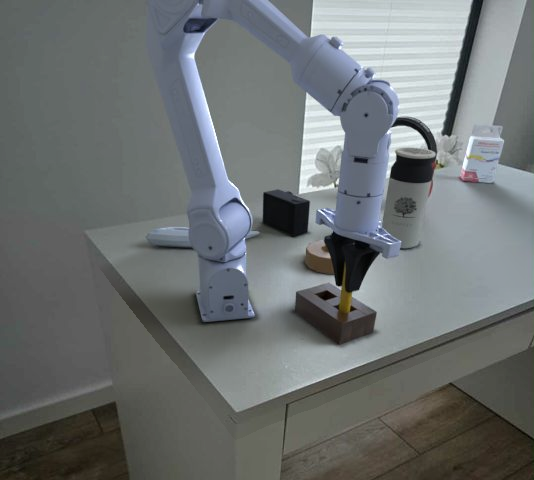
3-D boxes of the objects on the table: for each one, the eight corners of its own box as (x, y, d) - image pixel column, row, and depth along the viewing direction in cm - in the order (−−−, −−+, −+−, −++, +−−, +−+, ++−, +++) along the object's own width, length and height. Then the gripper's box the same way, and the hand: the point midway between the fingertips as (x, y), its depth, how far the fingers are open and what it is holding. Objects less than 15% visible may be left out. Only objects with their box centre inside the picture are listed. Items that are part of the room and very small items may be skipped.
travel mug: (386, 232, 107) (401, 145, 97) (422, 240, 104) (442, 150, 94) (373, 243, 102) (388, 152, 92) (411, 252, 98) (430, 158, 88)
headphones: (431, 204, 125) (450, 118, 114) (419, 215, 118) (437, 124, 107) (367, 192, 132) (378, 110, 121) (351, 201, 125) (362, 115, 114)
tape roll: (360, 272, 90) (362, 256, 88) (313, 275, 88) (315, 260, 87) (343, 252, 97) (345, 238, 96) (299, 255, 96) (300, 241, 94)
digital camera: (312, 231, 107) (314, 199, 103) (293, 237, 104) (295, 204, 100) (280, 218, 113) (282, 187, 109) (262, 223, 110) (263, 191, 106)
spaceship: (148, 254, 94) (145, 231, 92) (145, 242, 99) (142, 220, 97) (264, 243, 100) (265, 222, 98) (256, 232, 105) (256, 212, 103)
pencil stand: (339, 344, 70) (342, 323, 68) (294, 311, 77) (295, 291, 75) (373, 332, 73) (377, 311, 71) (326, 301, 80) (328, 282, 78)
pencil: (350, 319, 72) (359, 255, 66) (340, 320, 72) (348, 256, 66) (346, 314, 73) (355, 251, 68) (336, 315, 73) (344, 251, 67)
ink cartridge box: (463, 181, 144) (476, 127, 136) (459, 177, 148) (472, 124, 140) (493, 183, 143) (508, 128, 135) (489, 178, 147) (503, 125, 139)
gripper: (426, 202, 59) (405, 301, 67) (347, 173, 69) (336, 263, 77) (383, 210, 56) (366, 315, 63) (306, 179, 66) (299, 272, 73)
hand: (347, 287), depth 70 cm, fingers closed on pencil, 1 cm apart
